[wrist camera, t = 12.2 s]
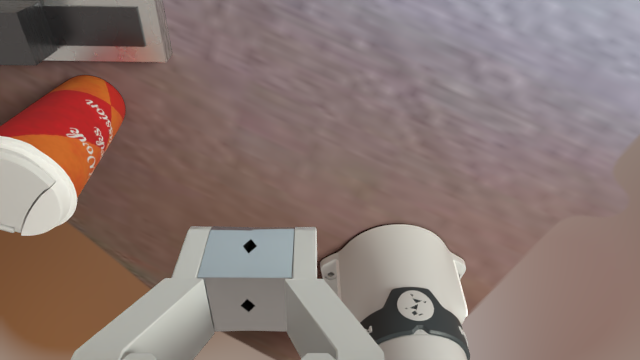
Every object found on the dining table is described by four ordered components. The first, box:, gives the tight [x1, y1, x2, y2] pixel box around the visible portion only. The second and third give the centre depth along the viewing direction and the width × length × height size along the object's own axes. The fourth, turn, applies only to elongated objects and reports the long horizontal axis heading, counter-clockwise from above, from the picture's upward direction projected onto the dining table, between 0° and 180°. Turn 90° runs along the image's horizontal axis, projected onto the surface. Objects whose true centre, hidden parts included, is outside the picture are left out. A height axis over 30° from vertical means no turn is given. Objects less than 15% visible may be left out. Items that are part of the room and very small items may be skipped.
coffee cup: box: [0, 75, 125, 236], centre depth 36 cm, size 8×8×15 cm
